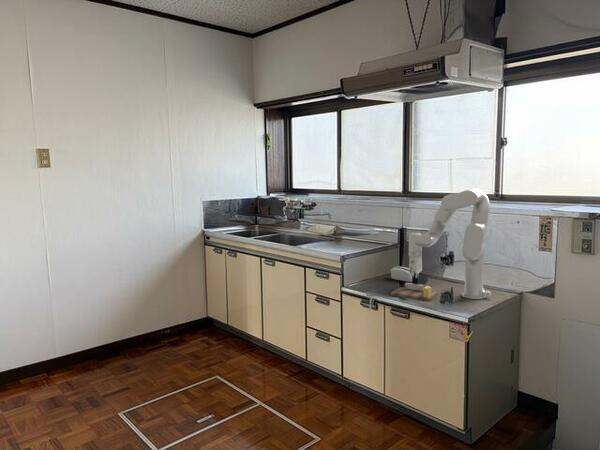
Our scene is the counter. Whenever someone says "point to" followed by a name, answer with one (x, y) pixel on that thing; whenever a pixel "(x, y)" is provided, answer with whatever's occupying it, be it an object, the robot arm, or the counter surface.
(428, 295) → the keeper block
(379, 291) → the counter surface
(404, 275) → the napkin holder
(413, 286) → the latch bar
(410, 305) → the counter surface
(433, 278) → the counter surface
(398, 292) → the brown wooden board
